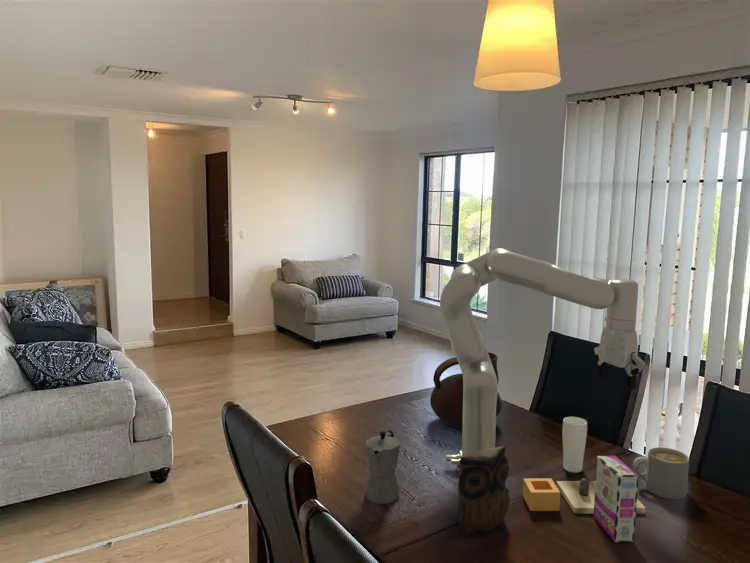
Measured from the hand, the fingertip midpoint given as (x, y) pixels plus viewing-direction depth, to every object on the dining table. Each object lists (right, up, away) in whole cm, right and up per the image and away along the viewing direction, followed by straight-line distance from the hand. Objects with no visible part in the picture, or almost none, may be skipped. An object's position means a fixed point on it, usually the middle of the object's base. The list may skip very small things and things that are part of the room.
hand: (616, 383), depth 159 cm
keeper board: (-8, -29, -9) cm, 31 cm away
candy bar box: (-10, -31, -22) cm, 40 cm away
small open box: (-24, -29, -11) cm, 40 cm away
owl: (-42, -31, -20) cm, 56 cm away
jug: (-35, -22, +44) cm, 61 cm away
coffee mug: (+11, -28, -3) cm, 30 cm away
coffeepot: (-65, -29, -6) cm, 72 cm away
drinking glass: (-9, -27, +8) cm, 30 cm away
